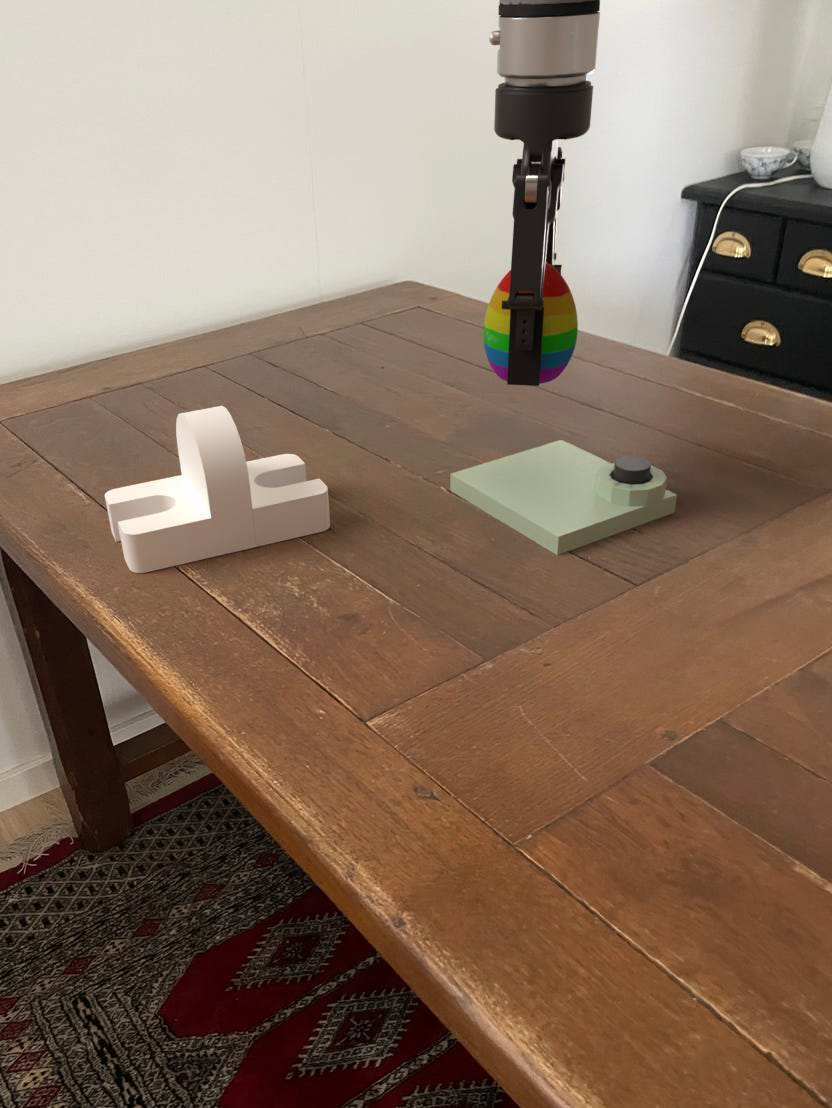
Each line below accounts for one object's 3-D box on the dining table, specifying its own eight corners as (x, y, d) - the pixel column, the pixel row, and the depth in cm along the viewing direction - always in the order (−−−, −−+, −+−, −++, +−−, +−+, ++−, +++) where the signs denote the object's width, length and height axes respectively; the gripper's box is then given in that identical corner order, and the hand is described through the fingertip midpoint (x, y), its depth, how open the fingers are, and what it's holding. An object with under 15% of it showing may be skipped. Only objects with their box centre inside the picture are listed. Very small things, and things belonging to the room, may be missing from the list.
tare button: (656, 480, 93) (658, 464, 92) (630, 489, 92) (632, 473, 91) (631, 468, 96) (633, 453, 95) (605, 477, 94) (607, 461, 93)
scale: (675, 513, 95) (680, 478, 93) (557, 556, 89) (560, 520, 87) (560, 456, 106) (563, 424, 104) (449, 491, 101) (450, 458, 99)
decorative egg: (485, 391, 89) (488, 273, 84) (479, 360, 96) (482, 249, 90) (579, 389, 89) (589, 270, 83) (567, 358, 95) (576, 246, 90)
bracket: (296, 487, 103) (287, 376, 96) (334, 528, 95) (327, 411, 89) (109, 527, 97) (86, 413, 91) (132, 575, 89) (109, 453, 83)
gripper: (511, 67, 88) (501, 329, 101) (476, 96, 72) (469, 407, 84) (600, 64, 87) (579, 332, 99) (585, 94, 70) (561, 411, 83)
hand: (528, 366), depth 92 cm, fingers closed on decorative egg, 8 cm apart
